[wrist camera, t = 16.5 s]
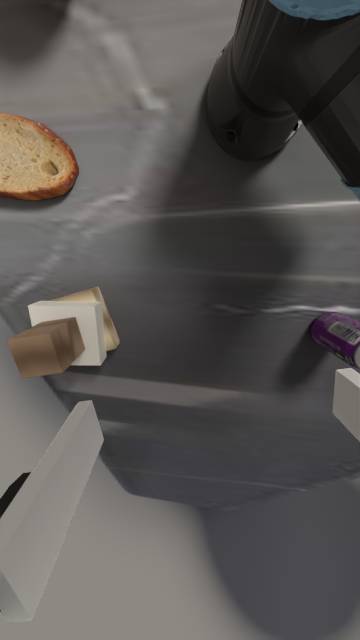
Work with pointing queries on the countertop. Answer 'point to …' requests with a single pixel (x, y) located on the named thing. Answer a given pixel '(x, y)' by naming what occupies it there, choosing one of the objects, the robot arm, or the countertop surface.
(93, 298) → the tower base
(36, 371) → the walnut block
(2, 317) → the countertop surface
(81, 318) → the tower top
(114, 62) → the countertop surface
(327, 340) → the beverage can
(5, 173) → the slice of bread
